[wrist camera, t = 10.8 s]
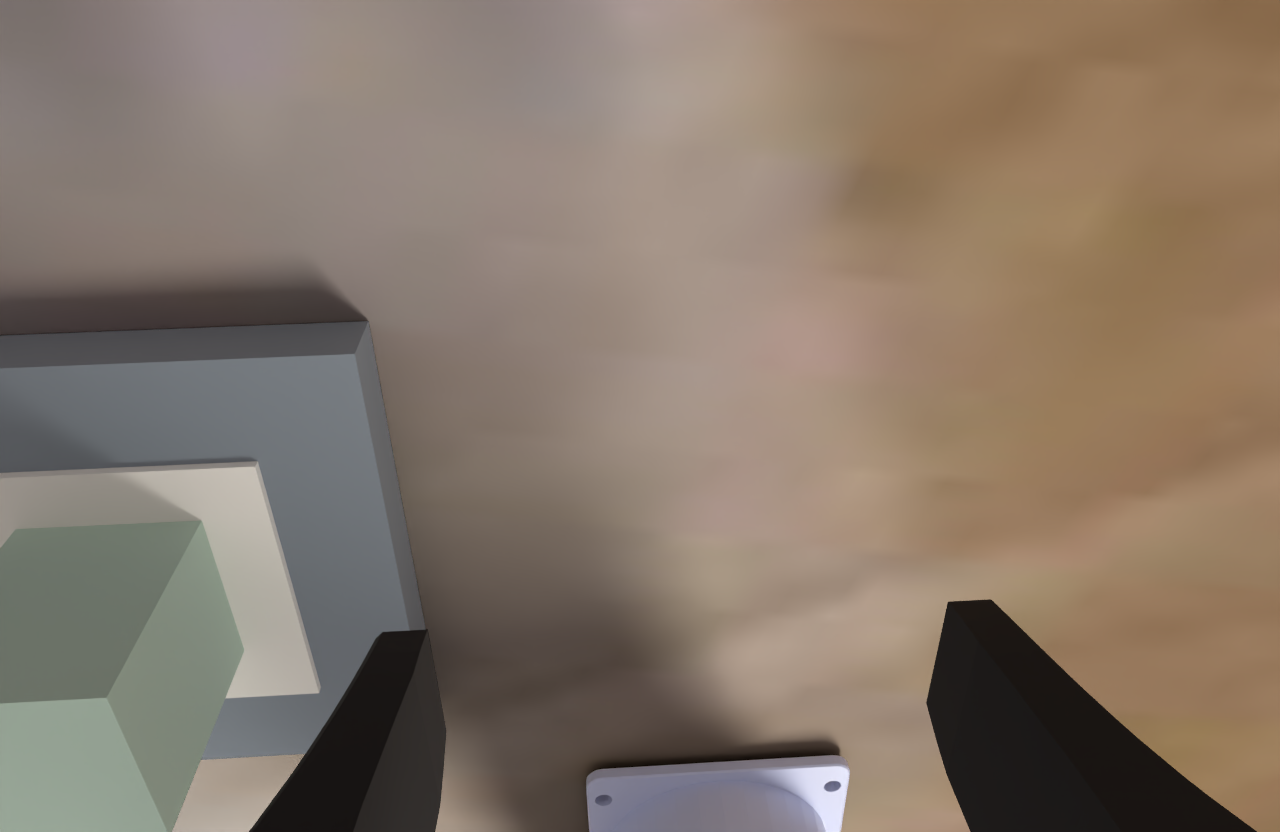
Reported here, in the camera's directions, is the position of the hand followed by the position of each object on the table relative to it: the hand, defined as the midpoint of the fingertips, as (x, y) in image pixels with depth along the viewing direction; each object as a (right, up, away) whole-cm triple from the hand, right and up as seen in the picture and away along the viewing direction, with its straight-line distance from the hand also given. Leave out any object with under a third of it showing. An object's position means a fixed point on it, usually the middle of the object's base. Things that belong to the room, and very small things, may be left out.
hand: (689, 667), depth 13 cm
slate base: (-13, 0, +10) cm, 16 cm away
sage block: (-12, -1, +9) cm, 15 cm away
